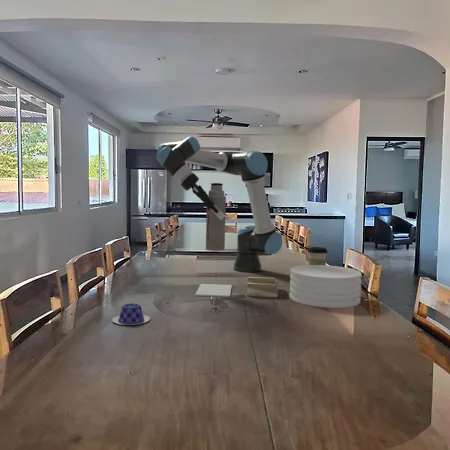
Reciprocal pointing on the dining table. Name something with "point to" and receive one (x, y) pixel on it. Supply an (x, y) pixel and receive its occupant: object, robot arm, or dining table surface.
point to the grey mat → (214, 290)
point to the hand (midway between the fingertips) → (223, 217)
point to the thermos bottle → (216, 220)
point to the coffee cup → (317, 255)
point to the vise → (264, 287)
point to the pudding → (131, 315)
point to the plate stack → (325, 286)
